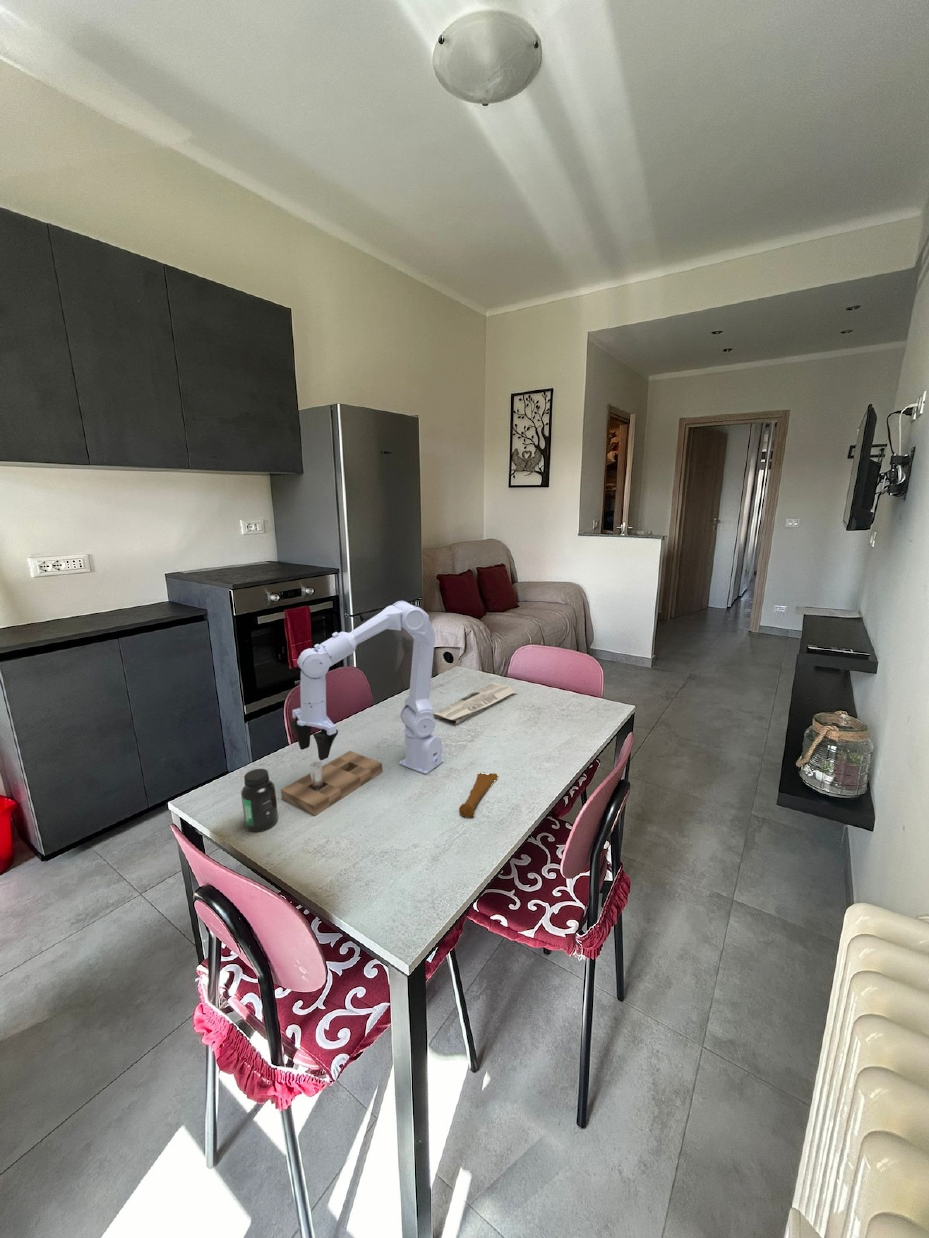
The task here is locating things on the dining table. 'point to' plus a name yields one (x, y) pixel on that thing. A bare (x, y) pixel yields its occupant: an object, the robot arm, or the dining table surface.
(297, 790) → the tool stand
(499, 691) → the newspaper
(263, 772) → the supplement bottle
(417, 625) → the robot arm
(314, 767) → the steel peg
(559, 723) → the dining table surface
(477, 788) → the primitive tool
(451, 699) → the dining table surface
